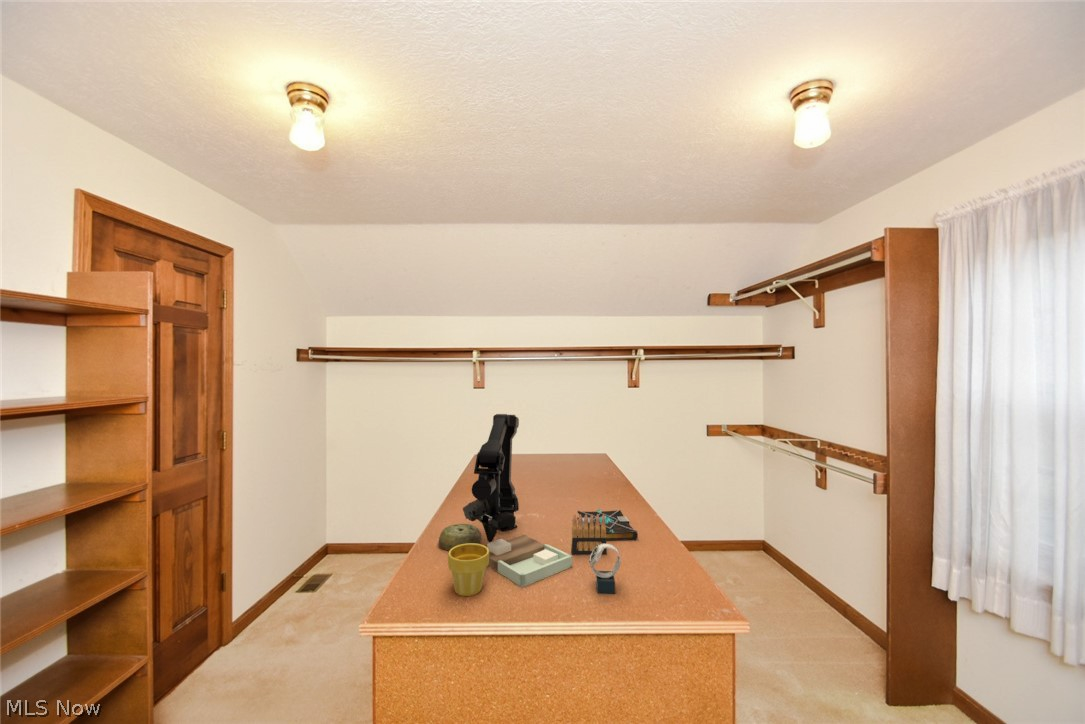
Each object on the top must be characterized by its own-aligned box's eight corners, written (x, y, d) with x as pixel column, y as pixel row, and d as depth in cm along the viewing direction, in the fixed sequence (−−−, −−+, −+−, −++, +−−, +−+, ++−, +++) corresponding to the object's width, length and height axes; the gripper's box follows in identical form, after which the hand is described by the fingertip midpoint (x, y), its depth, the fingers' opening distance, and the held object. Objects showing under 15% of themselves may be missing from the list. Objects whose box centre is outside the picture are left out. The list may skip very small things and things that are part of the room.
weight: (489, 539, 143) (489, 524, 143) (466, 556, 131) (466, 539, 131) (455, 533, 149) (455, 518, 149) (429, 548, 137) (429, 532, 137)
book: (638, 541, 142) (638, 526, 142) (586, 543, 141) (586, 527, 141) (621, 518, 164) (621, 505, 164) (576, 519, 163) (576, 506, 163)
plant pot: (495, 593, 109) (495, 554, 109) (455, 604, 104) (455, 563, 104) (480, 576, 118) (480, 539, 118) (442, 585, 113) (442, 547, 113)
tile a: (533, 561, 126) (533, 554, 126) (545, 555, 129) (545, 549, 129) (545, 566, 122) (545, 559, 122) (557, 561, 126) (558, 554, 126)
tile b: (487, 549, 129) (487, 543, 129) (501, 545, 132) (501, 538, 132) (497, 555, 125) (497, 548, 125) (511, 550, 128) (511, 543, 128)
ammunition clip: (571, 554, 132) (571, 515, 132) (571, 552, 133) (571, 512, 133) (607, 554, 132) (607, 515, 132) (606, 552, 133) (606, 512, 134)
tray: (497, 571, 120) (497, 561, 120) (546, 553, 132) (546, 543, 132) (522, 587, 112) (522, 575, 112) (572, 566, 124) (572, 556, 124)
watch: (588, 582, 115) (588, 540, 115) (619, 583, 114) (619, 541, 114) (589, 593, 109) (589, 549, 109) (621, 594, 109) (622, 550, 109)
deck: (476, 558, 129) (476, 550, 129) (524, 542, 140) (524, 534, 141) (497, 571, 120) (497, 562, 120) (546, 553, 132) (546, 545, 132)
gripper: (451, 488, 134) (451, 539, 134) (484, 502, 120) (484, 559, 120) (482, 482, 142) (482, 530, 141) (516, 495, 127) (516, 548, 127)
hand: (490, 541), depth 132 cm, fingers closed
